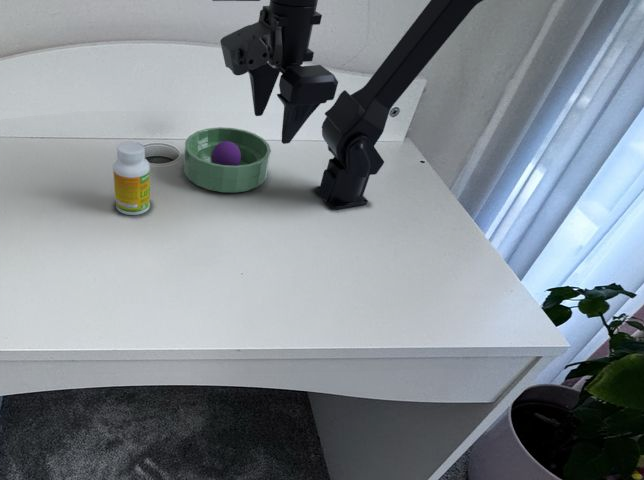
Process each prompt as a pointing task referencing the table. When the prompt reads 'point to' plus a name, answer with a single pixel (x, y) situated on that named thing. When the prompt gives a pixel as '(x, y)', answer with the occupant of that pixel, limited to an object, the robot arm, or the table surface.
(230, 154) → the ball
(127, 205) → the supplement bottle
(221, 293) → the table surface
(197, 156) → the bowl
